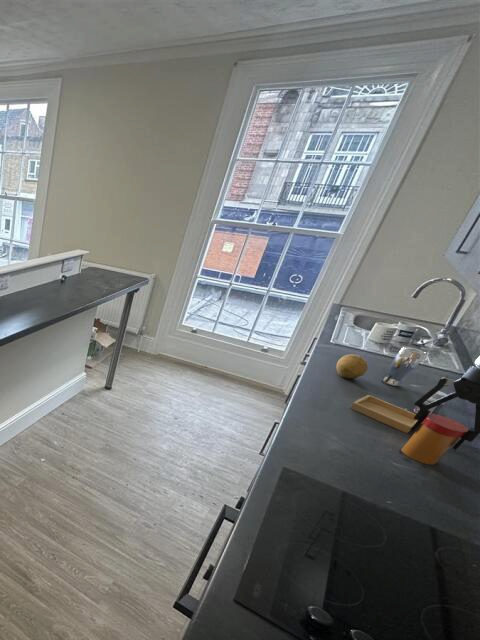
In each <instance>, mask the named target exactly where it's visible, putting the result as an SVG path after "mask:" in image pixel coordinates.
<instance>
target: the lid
mask: <svg viewBox="0 0 480 640" xmlns="http://www.w3.org/2000/svg"><path fill="white" fill-rule="evenodd" d="M421 424H424V425H425V426H426V427H428V428H430V429H432V430H434V431H436V432H438V433H440V434H443V435H446V436H450V437H454V438H459V439H461V438H462V437H463V436H464V435H465V434H466V433H467V431H468V430H469V428H467V427H466V426H465V425H464V424H462V423H461V422H458V421H456V420H454V419H451V418H449V417H446V416H442V415H438V414H436V415H434V414H428V415H427V416H426V417H425V418H424V419H423V421H422V423H421Z"/></svg>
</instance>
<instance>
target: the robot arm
mask: <svg viewBox="0 0 480 640" xmlns="http://www.w3.org/2000/svg"><path fill="white" fill-rule="evenodd" d="M450 385H453V388H454V392H451V393H449V394H447V396H445V397H442V398H440V399H438V400H436V401H434V402H431V403H429V404H427V405H426V404H424V402H425V401H426V400H428V399H429V398H430V397H431V396H433V395H434V394H435V393H437V392H438V391H441V390H442V389H443V388H445V387H449V386H450ZM456 398H458V399H461V400H464V401H467V402H469V403H471V404H475V413H474V414H475V415H474V426H473V427H474V428H473V427H471V428H468V431H467V433H466V434H465V435H464V436H463V437H462V438H459V439H458V440H457V441H456V442H455V443H454V445H453V446H452V447H451V449H452V450H454V451H456V450H457V449H459V447H461V445H462V444H463V443H464V442H465V441H467V442H469V443H471V442H473V441H474V440H475V439H476V438H477V437H478V436H479V435H480V355H479V356H478V357H477V358H476V359H475V361H474V364H473V365H470V367H468V369H467V370H466V372H464V374H463V375H462V376H461V378H459V379H452V378H449V377H448V376H443V377H441V378H440V379H439V380H438V382H437V384H436V385H435V386H434V387H433V388H431V389H430V390H429V391H427V392H426V393H425V394H423V395H422V396H421V397H420V398H418V400H416V401H415V402H414V403H413V404H414V406H415V407H416V406H418V407H419V408H420V410H419V412H418V413H415V414H416V415H415V416H414V419H416V420H418V421H417V422H416V423H415V424H414V426H413V427H412V428H411V429H410V431H411V432H415V431H417V430H418V428H419V427H420V426H421V425H422V424H423V423H422V421H423V419H424V418H425V417H426V416H427V415H428V414H429V413H430V412H431V411H429V409H431V408H433V407H435V406H438V405H440V404H442V403H444V402H445V403H447V402H448V401H451V400H453V399H456Z"/></svg>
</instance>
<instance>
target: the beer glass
mask: <svg viewBox="0 0 480 640" xmlns="http://www.w3.org/2000/svg"><path fill="white" fill-rule="evenodd" d="M425 356H426V351H424V350H421V349H419V348H416V347H412V346H403V347H402V348H401V349H400V350H399V351H398V353H397V354H396V355H395V357H394V358H393V360H392V362H391V364H390V366H389V369H388V371H387V372H386V374H385V375H384V376H383V377H382V378H381V379H380V381H381V380H382V381H383V382H385V383H388V384H390V385H394V386H400V387H401V386H402V383H403V381H404V380H405V379H406V377H408V376H409V375H410V374H411V373H412V372H413V371H414V370H415V369H416V368H417V367H418V366H419V364H421V362H422V361H423V359H424V357H425ZM382 381H381V382H382ZM383 382H382V383H383ZM385 383H384V384H385ZM390 385H389V386H390ZM394 386H393V387H394Z"/></svg>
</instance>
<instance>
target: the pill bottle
mask: <svg viewBox="0 0 480 640" xmlns="http://www.w3.org/2000/svg"><path fill="white" fill-rule="evenodd" d="M447 395H448V394H447V393H445V392H443V391H441V390H439V391H438V392H437V393H435V394H434V395H433V396H431V397H430V398H429V399H428V400H426V401H425V402H424V404H426V405H427V404H429V403H431V402H434V401H436V400H438V399H440V398H442V397H445V396H447ZM445 403H446V402H444V403H442V404H440V405H438V406H435V407H433V408H431V409H429V411H431V412H430V413H429V414H434V415H438V413H439V412H440V410H441V409H442V407H444V405H445ZM419 410H420V408H419V407H418V406H416V405H415V407H414V408H413V413H414V414H417V413H418V412H419Z"/></svg>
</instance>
